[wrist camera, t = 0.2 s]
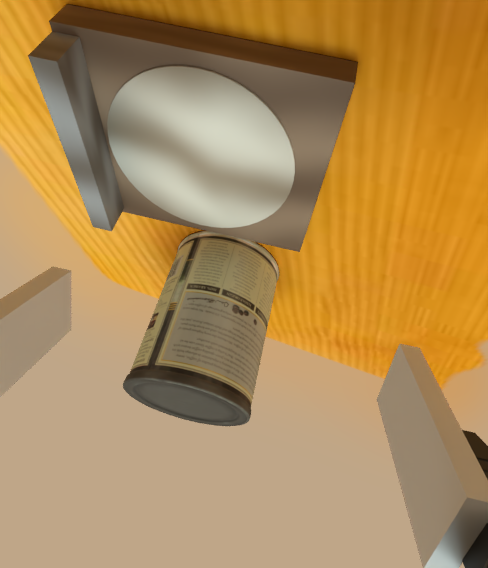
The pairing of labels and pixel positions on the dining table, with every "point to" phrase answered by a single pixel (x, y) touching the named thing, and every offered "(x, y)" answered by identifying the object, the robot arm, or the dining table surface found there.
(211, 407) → the coffee can
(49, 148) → the dining table surface
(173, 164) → the plate
